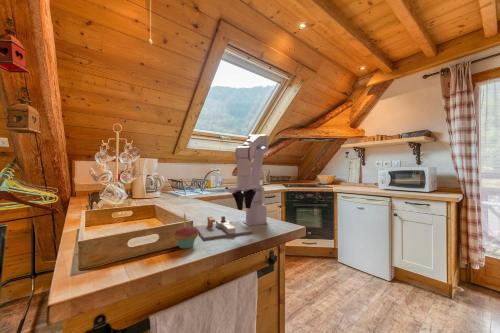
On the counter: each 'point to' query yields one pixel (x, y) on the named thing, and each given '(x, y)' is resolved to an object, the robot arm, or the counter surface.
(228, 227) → the link
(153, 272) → the counter surface
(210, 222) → the keeper
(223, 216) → the pintle
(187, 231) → the cupcake
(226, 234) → the board
